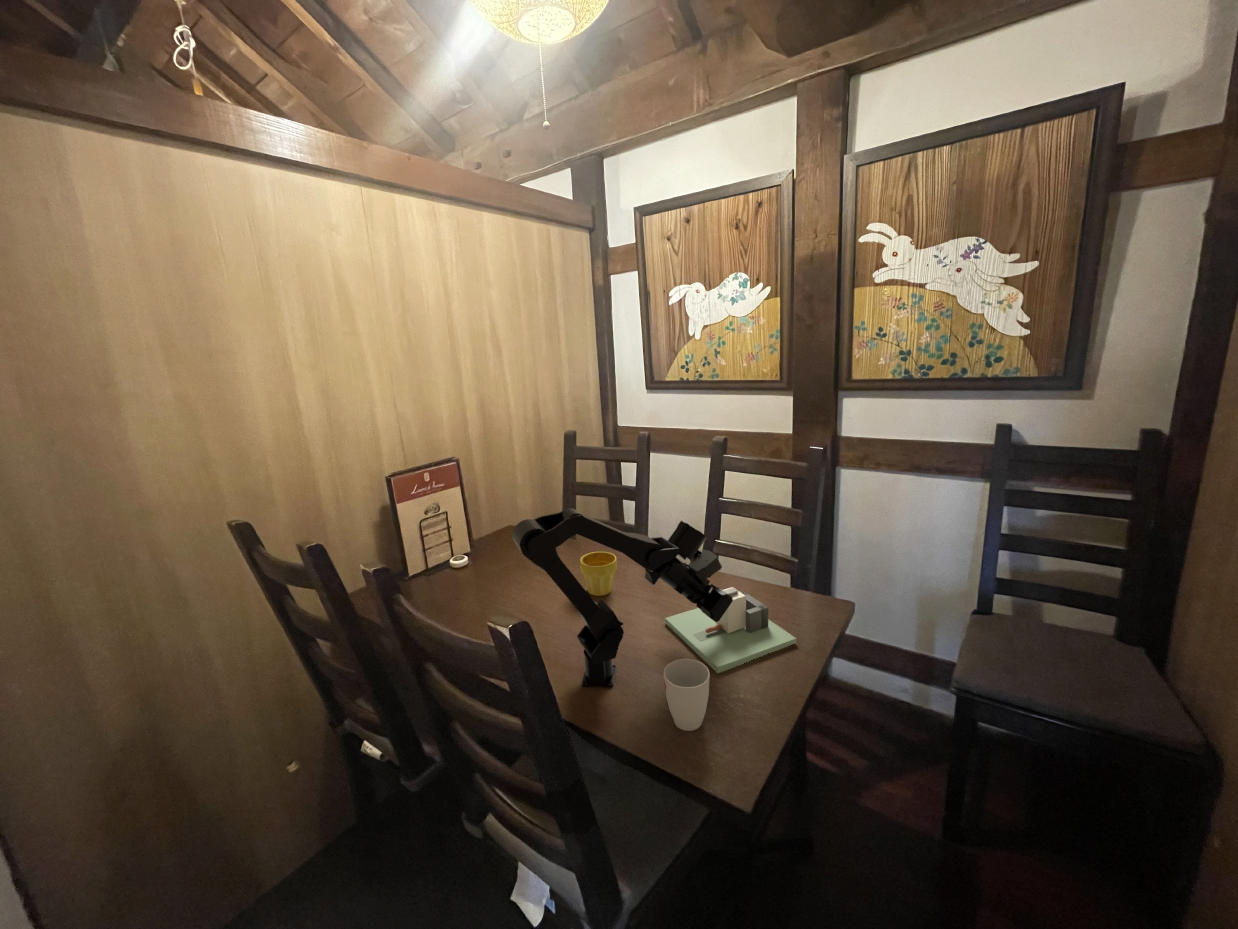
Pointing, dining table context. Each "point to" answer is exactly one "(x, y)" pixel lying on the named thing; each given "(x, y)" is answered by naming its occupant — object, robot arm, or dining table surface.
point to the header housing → (755, 614)
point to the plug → (732, 613)
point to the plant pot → (598, 571)
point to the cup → (687, 692)
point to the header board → (726, 640)
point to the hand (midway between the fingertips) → (720, 607)
